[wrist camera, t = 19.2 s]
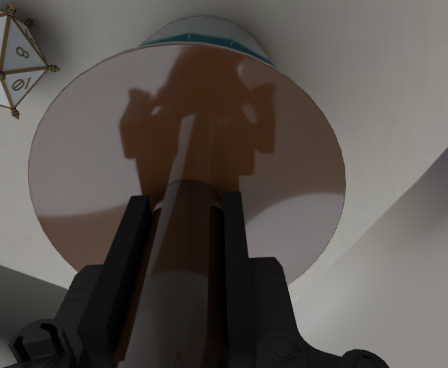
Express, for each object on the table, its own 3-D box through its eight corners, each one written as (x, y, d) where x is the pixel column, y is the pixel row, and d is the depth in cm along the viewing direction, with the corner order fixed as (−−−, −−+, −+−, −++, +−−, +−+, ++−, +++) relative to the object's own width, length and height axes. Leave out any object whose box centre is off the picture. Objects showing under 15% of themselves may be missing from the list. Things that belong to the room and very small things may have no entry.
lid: (361, 31, 13) (658, 124, 4) (320, 291, 20) (399, 523, 12) (-10, 45, 13) (-469, 169, 4) (82, 300, 20) (-20, 539, 12)
